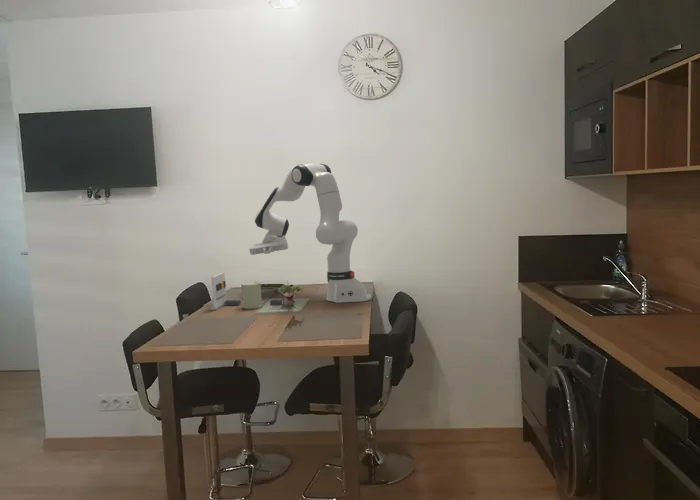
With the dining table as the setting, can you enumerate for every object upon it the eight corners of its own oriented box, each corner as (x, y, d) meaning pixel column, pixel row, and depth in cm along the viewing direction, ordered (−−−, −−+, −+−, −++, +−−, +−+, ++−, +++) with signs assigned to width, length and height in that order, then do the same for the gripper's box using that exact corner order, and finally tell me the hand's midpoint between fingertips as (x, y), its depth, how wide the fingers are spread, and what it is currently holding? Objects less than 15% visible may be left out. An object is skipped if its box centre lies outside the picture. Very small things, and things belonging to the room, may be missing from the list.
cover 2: (283, 303, 287) (283, 298, 287) (282, 304, 285) (281, 299, 284) (271, 303, 288) (271, 298, 288) (270, 305, 285) (269, 299, 285)
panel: (228, 303, 293) (226, 272, 291) (218, 310, 279) (215, 277, 278) (220, 304, 294) (218, 272, 292) (210, 310, 280) (207, 277, 278)
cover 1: (240, 304, 291) (240, 299, 290) (238, 305, 288) (238, 300, 287) (227, 304, 292) (226, 299, 291) (225, 305, 289) (224, 300, 289)
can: (261, 308, 279) (259, 283, 278) (242, 309, 279) (240, 284, 277) (263, 304, 289) (261, 280, 287) (244, 305, 288) (242, 281, 287)
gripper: (250, 241, 313) (245, 249, 300) (287, 235, 312) (284, 243, 299) (253, 252, 315) (248, 261, 302) (290, 246, 314) (287, 254, 301)
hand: (266, 252), depth 300 cm, fingers closed
